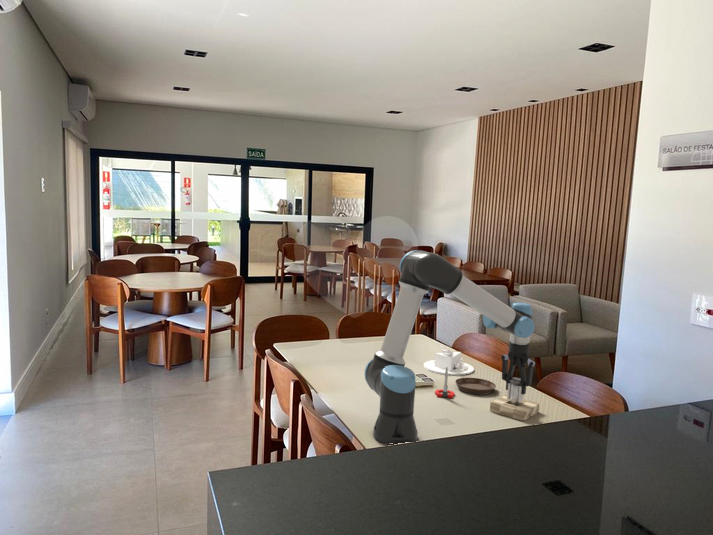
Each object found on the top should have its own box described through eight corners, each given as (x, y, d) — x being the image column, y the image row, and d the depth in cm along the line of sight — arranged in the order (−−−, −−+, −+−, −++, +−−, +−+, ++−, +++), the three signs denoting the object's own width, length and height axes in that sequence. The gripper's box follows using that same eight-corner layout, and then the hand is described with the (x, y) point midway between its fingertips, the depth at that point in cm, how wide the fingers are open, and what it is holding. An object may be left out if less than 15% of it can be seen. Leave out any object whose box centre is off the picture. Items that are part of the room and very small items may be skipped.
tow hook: (434, 391, 235) (434, 397, 226) (436, 362, 234) (436, 366, 225) (454, 393, 234) (454, 399, 225) (456, 363, 233) (457, 368, 224)
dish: (451, 379, 253) (452, 355, 252) (413, 366, 272) (414, 344, 271) (483, 371, 269) (485, 349, 268) (445, 359, 288) (447, 339, 287)
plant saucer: (466, 380, 251) (466, 374, 251) (502, 389, 240) (502, 383, 240) (447, 389, 238) (448, 382, 237) (484, 399, 227) (484, 392, 226)
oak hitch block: (523, 421, 203) (523, 412, 203) (489, 410, 212) (490, 402, 212) (538, 412, 213) (539, 403, 213) (506, 402, 223) (506, 394, 222)
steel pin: (517, 414, 209) (519, 382, 208) (504, 411, 213) (507, 379, 211) (523, 411, 213) (525, 379, 212) (510, 408, 216) (513, 376, 215)
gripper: (544, 345, 207) (539, 403, 209) (503, 337, 218) (499, 392, 221) (536, 348, 202) (531, 408, 204) (495, 339, 213) (490, 396, 215)
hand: (514, 400), depth 212 cm, fingers closed on steel pin, 4 cm apart
